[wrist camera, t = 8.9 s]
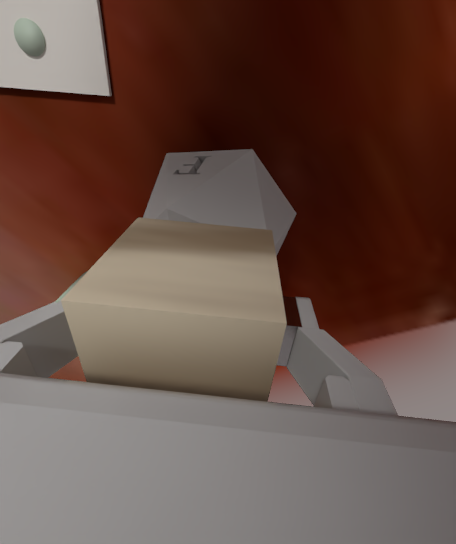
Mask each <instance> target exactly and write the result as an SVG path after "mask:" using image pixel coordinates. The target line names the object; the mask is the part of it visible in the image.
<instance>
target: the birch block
mask: <svg viewBox="0 0 456 544" xmlns="http://www.w3.org/2000/svg"><path fill="white" fill-rule="evenodd" d="M61 303H62V306H63V309H64V312H65V315H66V319H67V322H68V325H69V328H70V331H71V334H72V337H73V340H74V343H75V347H76V350H77V353H78V356H79V359H80V362H81V365H82V368H83V371H84V374H85V378H86V381H87V382H90V383H99V384H108V385H118V386H127V387H136V388H145V389H155V390H164V391H173V392H183V393H192V394H201V395H210V396H219V397H228V398H238V399H247V400H256V401H265V402H267V401H268V397H269V393H270V389H271V385H272V380H273V377H274V373H275V369H276V365H277V361H278V357H279V353H280V349H281V345H282V341H283V337H284V333H285V329H286V325H287V321H286V315H285V308H284V302H283V296H282V289H281V283H280V277H279V271H278V264H277V258H276V252H275V245H274V239H273V233H272V230H266V229H255V228H245V227H234V226H224V225H213V224H202V223H192V222H181V221H171V220H160V219H149V218H139V217H138V218H137V219H136V220H135V221H134V223H133V224H132V225H131V226H130V227H129V228H128V229H127V230H126V231H125V232H124V233H123V234H122V235H121V236H120V238H119V239H118V240H117V241H116V242H115V243H114V244H113V245H112V246H111V247H110V248H109V249H108V250H107V251H106V252H105V254H104V255H103V256H102V257H101V258H100V259H99V260H98V261H97V262H96V263H95V264H94V265H93V266H92V267H91V269H90V270H89V271H88V272H87V273H86V274H85V275H84V276H83V277H82V278H81V279H80V280H79V281H78V282H77V283H76V285H75V286H74V287H73V288H72V289H71V290H70V291H69V292H68V293H67V294H66V295H65V296H64V297H63V298H62V300H61Z"/></svg>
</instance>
